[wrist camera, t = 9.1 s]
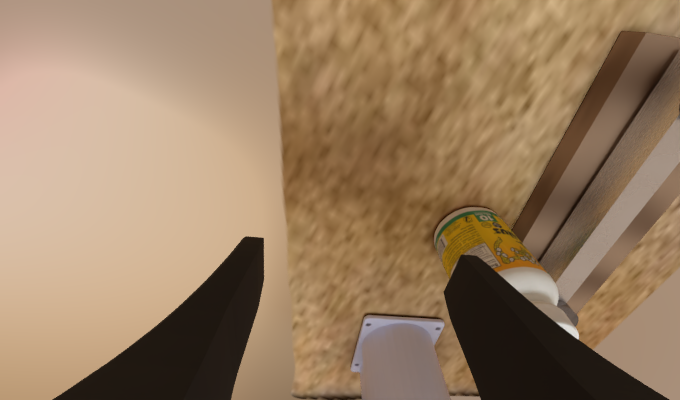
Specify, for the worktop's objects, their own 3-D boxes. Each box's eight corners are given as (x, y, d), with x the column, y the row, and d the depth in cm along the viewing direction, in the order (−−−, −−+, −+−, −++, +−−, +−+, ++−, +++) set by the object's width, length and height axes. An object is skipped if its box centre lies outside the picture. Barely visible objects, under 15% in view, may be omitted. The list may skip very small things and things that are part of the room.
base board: (562, 304, 29) (573, 318, 27) (474, 298, 28) (481, 312, 26) (762, 54, 17) (797, 57, 16) (621, 31, 16) (646, 32, 15)
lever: (539, 309, 26) (596, 388, 20) (501, 306, 26) (548, 386, 20) (728, 55, 15) (952, 76, 10) (667, 45, 15) (862, 61, 10)
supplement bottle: (418, 234, 23) (465, 350, 15) (475, 191, 21) (564, 297, 13) (458, 266, 25) (518, 384, 17) (513, 229, 23) (611, 342, 15)
